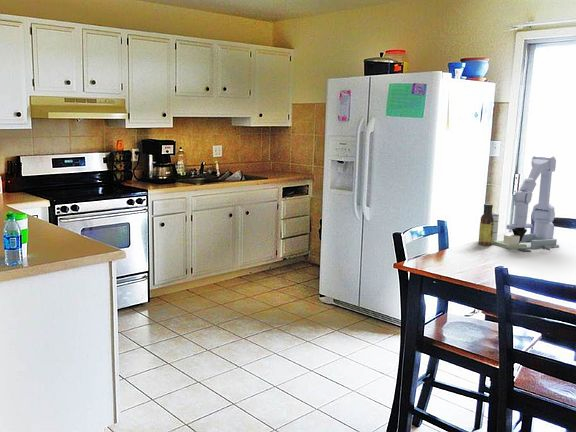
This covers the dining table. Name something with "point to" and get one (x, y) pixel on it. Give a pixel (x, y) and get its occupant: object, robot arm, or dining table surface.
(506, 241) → the cube
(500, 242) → the pale green flat block
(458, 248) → the dining table surface
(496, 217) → the syrup box
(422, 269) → the dining table surface
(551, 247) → the crook tool
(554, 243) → the pale blue square frame
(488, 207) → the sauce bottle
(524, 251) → the hole marker
